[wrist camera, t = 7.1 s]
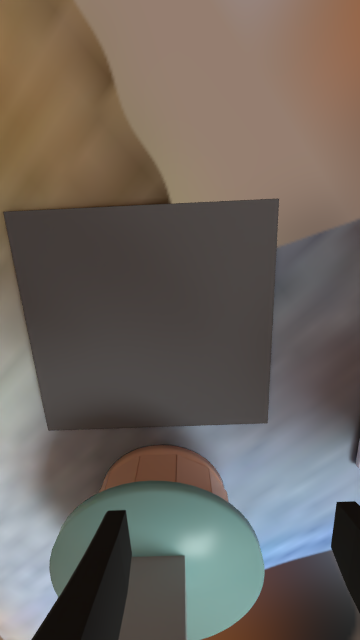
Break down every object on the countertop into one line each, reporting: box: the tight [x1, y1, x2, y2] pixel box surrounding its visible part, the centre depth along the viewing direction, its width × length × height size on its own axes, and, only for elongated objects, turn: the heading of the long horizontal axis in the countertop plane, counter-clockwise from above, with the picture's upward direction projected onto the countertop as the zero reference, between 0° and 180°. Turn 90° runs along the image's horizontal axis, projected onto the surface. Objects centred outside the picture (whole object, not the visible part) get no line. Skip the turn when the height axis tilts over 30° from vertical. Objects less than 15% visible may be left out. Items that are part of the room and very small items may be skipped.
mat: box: [3, 199, 279, 430], centre depth 18 cm, size 16×15×1 cm
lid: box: [50, 481, 264, 640], centre depth 15 cm, size 13×13×5 cm
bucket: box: [99, 445, 228, 502], centre depth 20 cm, size 10×10×5 cm
